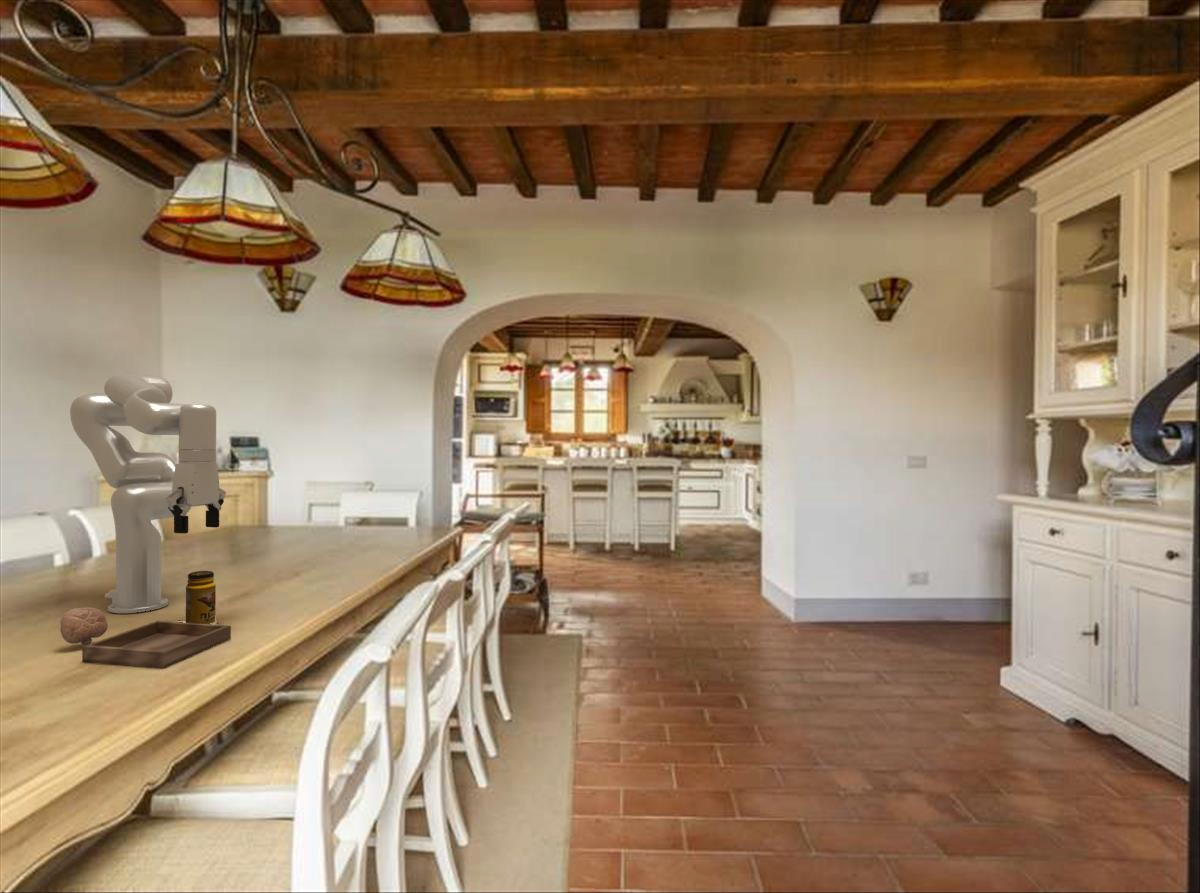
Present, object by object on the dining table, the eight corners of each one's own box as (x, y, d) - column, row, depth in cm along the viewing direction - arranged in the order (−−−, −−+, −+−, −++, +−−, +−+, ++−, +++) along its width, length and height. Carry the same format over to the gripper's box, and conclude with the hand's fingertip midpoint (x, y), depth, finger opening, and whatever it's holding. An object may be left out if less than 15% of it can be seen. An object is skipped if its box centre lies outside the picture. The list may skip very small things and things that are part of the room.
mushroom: (110, 639, 142) (110, 602, 142) (103, 648, 136) (103, 609, 136) (65, 644, 138) (65, 606, 138) (57, 653, 133) (57, 613, 133)
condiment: (218, 624, 154) (218, 573, 154) (175, 630, 149) (175, 577, 149) (216, 617, 160) (216, 568, 160) (174, 622, 155) (174, 571, 155)
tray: (82, 661, 128) (82, 646, 128) (157, 634, 146) (157, 620, 146) (164, 668, 125) (164, 652, 125) (230, 639, 143) (230, 625, 143)
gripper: (210, 455, 163) (210, 524, 163) (153, 458, 146) (152, 535, 146) (237, 456, 162) (237, 525, 162) (183, 458, 145) (182, 536, 145)
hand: (197, 530), depth 154 cm, fingers open, 9 cm apart
